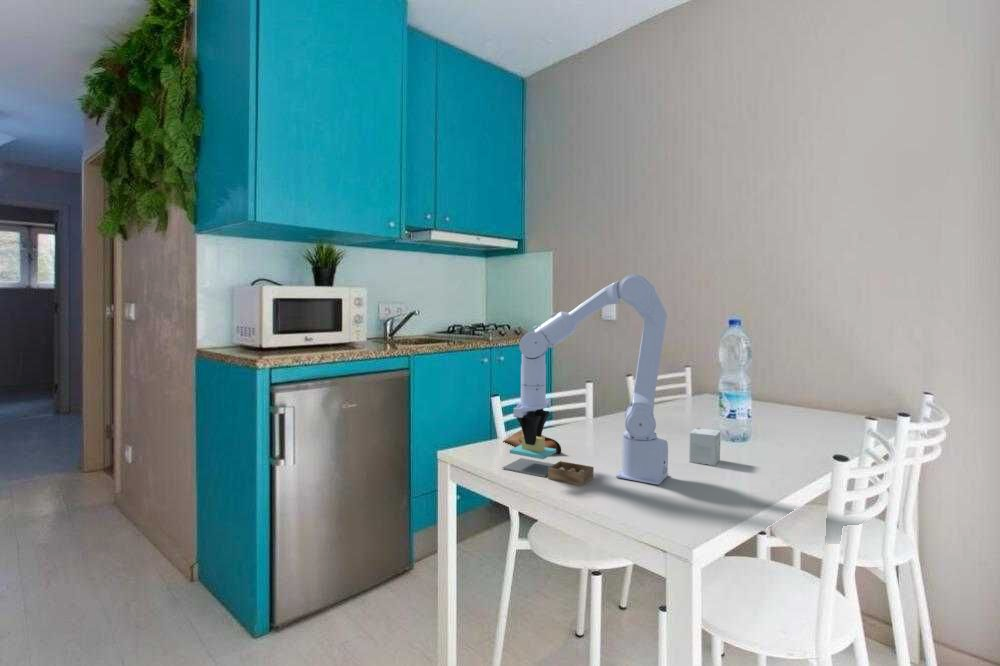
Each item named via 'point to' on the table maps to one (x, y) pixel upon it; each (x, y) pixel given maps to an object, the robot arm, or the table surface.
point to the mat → (529, 467)
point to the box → (570, 473)
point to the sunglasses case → (549, 443)
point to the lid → (533, 449)
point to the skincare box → (704, 446)
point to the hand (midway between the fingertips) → (532, 443)
